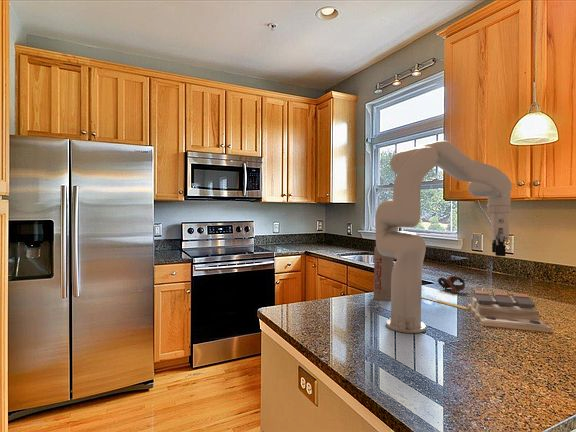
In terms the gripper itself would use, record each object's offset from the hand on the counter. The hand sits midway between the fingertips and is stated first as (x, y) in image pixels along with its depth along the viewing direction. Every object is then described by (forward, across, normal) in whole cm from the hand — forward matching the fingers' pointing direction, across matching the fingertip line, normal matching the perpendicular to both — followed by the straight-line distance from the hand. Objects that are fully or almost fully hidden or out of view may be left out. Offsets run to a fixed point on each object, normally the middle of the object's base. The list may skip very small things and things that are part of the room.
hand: (498, 254), depth 132 cm
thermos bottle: (+22, -2, +44) cm, 49 cm away
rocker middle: (+16, -7, -1) cm, 17 cm away
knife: (+22, +5, +24) cm, 33 cm away
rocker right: (+16, -6, -7) cm, 18 cm away
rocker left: (+16, -8, +6) cm, 18 cm away
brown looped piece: (+23, +27, +16) cm, 39 cm away
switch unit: (+22, -10, -1) cm, 24 cm away
